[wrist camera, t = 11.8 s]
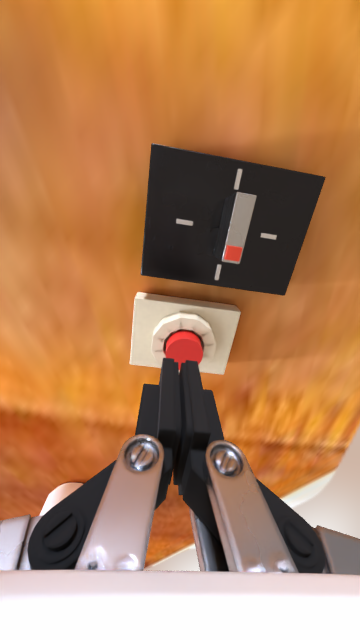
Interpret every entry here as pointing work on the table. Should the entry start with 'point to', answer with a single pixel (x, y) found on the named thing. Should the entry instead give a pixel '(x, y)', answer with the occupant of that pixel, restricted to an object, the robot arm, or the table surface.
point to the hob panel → (205, 216)
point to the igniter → (182, 314)
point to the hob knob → (234, 227)
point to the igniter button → (184, 347)
